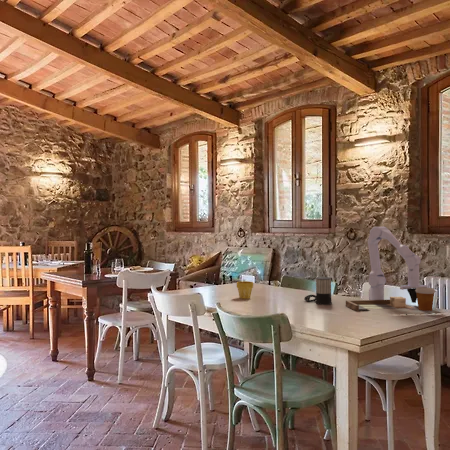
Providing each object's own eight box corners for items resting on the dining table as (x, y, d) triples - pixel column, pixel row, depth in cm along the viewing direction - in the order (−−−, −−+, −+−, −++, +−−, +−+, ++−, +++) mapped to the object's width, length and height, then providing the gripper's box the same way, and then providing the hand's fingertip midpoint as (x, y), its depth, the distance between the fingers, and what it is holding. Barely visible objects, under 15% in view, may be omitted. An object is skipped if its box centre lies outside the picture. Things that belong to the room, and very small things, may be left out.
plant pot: (253, 296, 285) (253, 281, 285) (253, 299, 275) (252, 283, 275) (237, 296, 286) (237, 281, 286) (236, 299, 276) (236, 283, 276)
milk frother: (332, 305, 254) (331, 278, 254) (303, 304, 257) (303, 278, 257) (331, 301, 268) (331, 276, 268) (304, 300, 271) (304, 275, 271)
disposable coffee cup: (423, 313, 227) (423, 290, 227) (411, 310, 237) (411, 287, 237) (439, 312, 230) (439, 289, 230) (426, 309, 239) (426, 286, 239)
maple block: (390, 304, 247) (389, 296, 247) (400, 304, 248) (400, 296, 248) (395, 306, 241) (394, 298, 241) (405, 306, 242) (405, 298, 242)
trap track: (345, 305, 251) (345, 300, 251) (401, 304, 253) (401, 299, 253) (356, 311, 235) (356, 305, 235) (414, 309, 238) (414, 304, 238)
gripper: (404, 278, 241) (404, 304, 241) (430, 278, 242) (430, 303, 242) (398, 277, 248) (398, 301, 248) (423, 276, 249) (423, 301, 249)
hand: (413, 302), depth 245 cm, fingers closed
